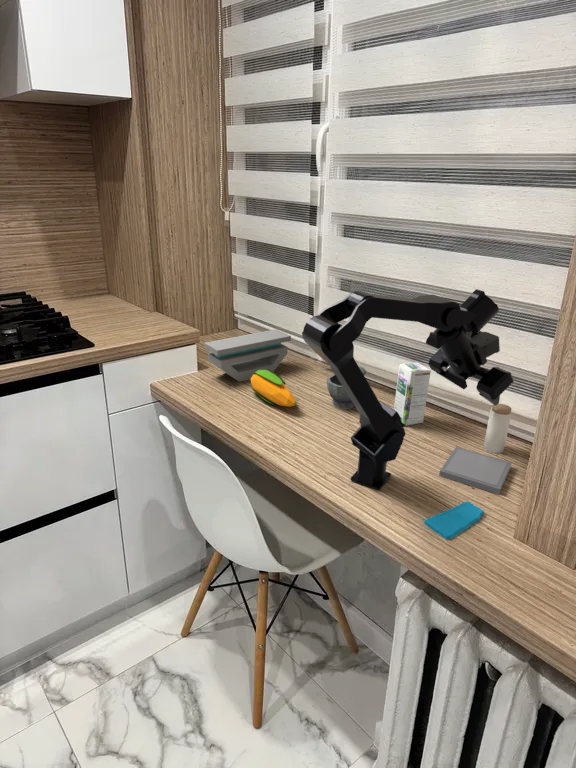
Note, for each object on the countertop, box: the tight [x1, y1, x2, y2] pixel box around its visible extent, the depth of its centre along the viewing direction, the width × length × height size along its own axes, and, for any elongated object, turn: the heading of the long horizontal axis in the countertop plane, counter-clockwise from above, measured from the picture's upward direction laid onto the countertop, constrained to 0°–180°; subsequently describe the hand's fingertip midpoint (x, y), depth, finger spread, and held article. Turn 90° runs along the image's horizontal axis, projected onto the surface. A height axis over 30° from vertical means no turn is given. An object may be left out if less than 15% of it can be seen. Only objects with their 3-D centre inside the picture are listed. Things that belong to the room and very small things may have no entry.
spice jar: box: [483, 403, 513, 454], centre depth 120 cm, size 4×4×10 cm
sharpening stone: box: [203, 329, 292, 382], centre depth 158 cm, size 25×8×11 cm, turn 125°
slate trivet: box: [439, 446, 512, 495], centre depth 112 cm, size 12×12×1 cm
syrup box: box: [393, 362, 432, 427], centre depth 131 cm, size 6×6×14 cm
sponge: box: [423, 501, 485, 540], centre depth 97 cm, size 2×12×6 cm
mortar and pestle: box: [326, 366, 367, 410], centre depth 139 cm, size 11×9×12 cm
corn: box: [249, 370, 298, 408], centre depth 141 cm, size 7×8×20 cm
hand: (480, 395), depth 115 cm, fingers open, 9 cm apart
